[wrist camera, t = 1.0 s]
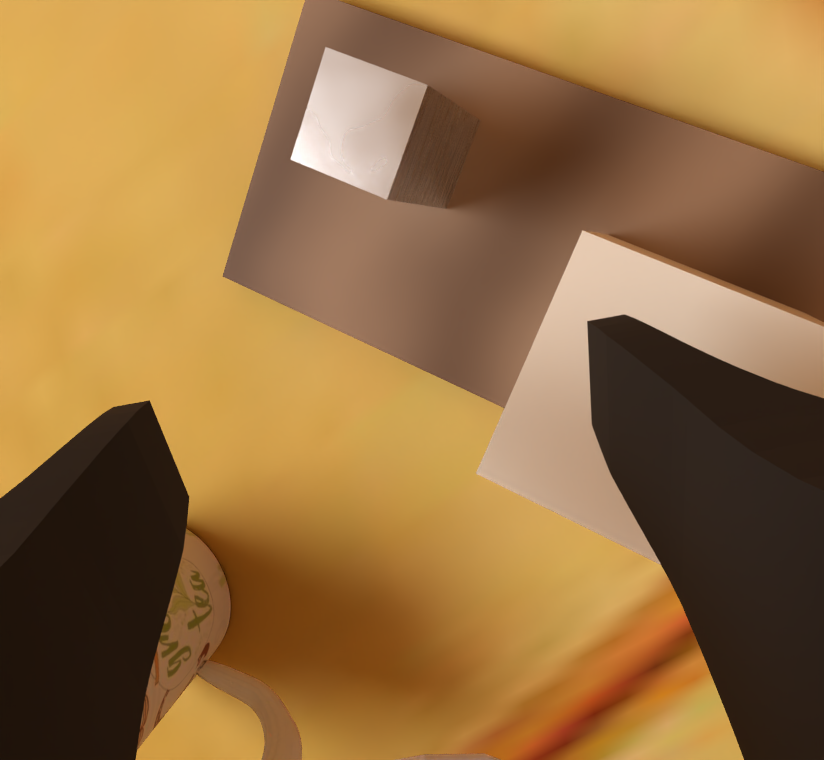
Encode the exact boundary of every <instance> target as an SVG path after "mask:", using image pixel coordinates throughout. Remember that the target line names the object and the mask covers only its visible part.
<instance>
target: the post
mask: <svg viewBox="0 0 824 760" xmlns="http://www.w3.org/2000/svg"><path fill="white" fill-rule="evenodd" d="M479 123H480V120H479V119H478V118H476V117H475V116H473V115H472V114H470V113H469V112H467V111H466V110H464V109H463V108H461V107H460V106H458V105H457V104H455V103H454V102H452V101H451V100H449V99H448V98H447V97H445V96H444V95H442V94H441V93H439V92H438V91H436V90H435V89H433V88H432V87H430V86H429V85H427V84H424V83H421V82H419V81H416V80H413V79H411V78H408V77H405V76H402V75H400V74H397V73H394V72H392V71H389V70H386V69H384V68H381V67H378V66H375V65H373V64H370V63H367V62H365V61H362V60H359V59H357V58H354V57H351V56H349V55H346V54H343V53H340V52H338V51H335V50H332V49H330V48H327V47H325V51H324V54H323V57H322V60H321V63H320V67H319V70H318V73H317V76H316V79H315V83H314V86H313V89H312V92H311V95H310V99H309V102H308V105H307V108H306V111H305V115H304V118H303V121H302V124H301V127H300V131H299V134H298V137H297V140H296V144H295V147H294V150H293V153H292V156H291V160H293V161H295V162H298V163H300V164H302V165H305V166H307V167H310V168H312V169H314V170H317V171H319V172H322V173H324V174H326V175H329V176H331V177H334V178H336V179H338V180H341V181H343V182H346V183H348V184H350V185H353V186H355V187H358V188H360V189H363V190H365V191H367V192H370V193H372V194H375V195H377V196H379V197H382V198H384V199H387V200H392V201H399V202H405V203H411V204H418V205H424V206H430V207H437V208H443V209H447V207H448V204H449V202H450V199H451V197H452V194H453V191H454V189H455V186H456V183H457V181H458V178H459V175H460V173H461V170H462V168H463V165H464V162H465V160H466V157H467V154H468V152H469V149H470V147H471V144H472V141H473V139H474V136H475V133H476V131H477V128H478V126H479Z"/></svg>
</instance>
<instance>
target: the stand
mask: <svg viewBox="0 0 824 760" xmlns="http://www.w3.org/2000/svg"><path fill="white" fill-rule="evenodd" d="M325 47H327V48H330V49H332V50H335V51H338V52H340V53H343V54H346V55H349V56H351V57H354V58H357V59H359V60H362V61H365V62H367V63H370V64H373V65H375V66H378V67H381V68H384V69H386V70H389V71H392V72H394V73H397V74H400V75H402V76H405V77H408V78H411V79H413V80H416V81H419V82H421V83H424V84H427V85H429V86H430V87H432V88H433V89H435V90H436V91H438V92H439V93H441V94H442V95H444V96H445V97H447V98H448V99H449V100H451V101H452V102H454V103H455V104H457V105H458V106H460V107H461V108H463V109H464V110H466V111H467V112H469V113H470V114H472V115H473V116H475V117H476V118H478V119H479V120H480V123H479V126H478V128H477V131H476V133H475V136H474V139H473V141H472V144H471V147H470V149H469V152H468V154H467V157H466V160H465V162H464V165H463V168H462V170H461V173H460V175H459V178H458V181H457V183H456V186H455V189H454V191H453V194H452V197H451V199H450V202H449V204H448V207H447V209H443V208H437V207H430V206H424V205H418V204H411V203H405V202H399V201H392V200H387V199H384V198H382V197H379V196H377V195H375V194H372V193H370V192H367V191H365V190H363V189H360V188H358V187H355V186H353V185H350V184H348V183H346V182H343V181H341V180H338V179H336V178H334V177H331V176H329V175H326V174H324V173H322V172H319V171H317V170H314V169H312V168H310V167H307V166H305V165H302V164H300V163H298V162H295V161H293V160H291V156H292V153H293V150H294V147H295V144H296V140H297V137H298V134H299V131H300V127H301V124H302V121H303V118H304V115H305V111H306V108H307V105H308V102H309V99H310V95H311V92H312V89H313V86H314V83H315V79H316V76H317V73H318V70H319V67H320V63H321V60H322V57H323V54H324V51H325ZM582 230H583V231H589V232H596V233H602V234H607V235H610V236H612V237H615V238H618V239H620V240H623V241H625V242H628V243H630V244H633V245H635V246H638V247H640V248H643V249H645V250H648V251H650V252H653V253H655V254H658V255H660V256H663V257H665V258H668V259H670V260H673V261H675V262H678V263H680V264H683V265H685V266H688V267H690V268H693V269H696V270H698V271H701V272H703V273H706V274H708V275H711V276H713V277H716V278H718V279H721V280H723V281H726V282H728V283H731V284H733V285H736V286H738V287H741V288H743V289H746V290H748V291H751V292H753V293H756V294H758V295H761V296H763V297H766V298H769V299H771V300H774V301H776V302H779V303H781V304H784V305H786V306H789V307H791V308H794V309H796V310H799V311H801V312H804V313H806V314H808V315H810V316H812V317H814V318H816V319H818V320H820V321H822V322H824V172H823V171H820V170H817V169H814V168H811V167H809V166H806V165H803V164H800V163H797V162H794V161H792V160H789V159H786V158H783V157H780V156H777V155H775V154H772V153H769V152H766V151H763V150H760V149H758V148H755V147H752V146H749V145H746V144H743V143H741V142H738V141H735V140H732V139H729V138H726V137H724V136H721V135H718V134H715V133H712V132H709V131H707V130H704V129H701V128H698V127H695V126H692V125H690V124H687V123H684V122H681V121H678V120H675V119H673V118H670V117H667V116H664V115H661V114H659V113H656V112H653V111H650V110H647V109H644V108H642V107H639V106H636V105H633V104H630V103H627V102H625V101H622V100H619V99H616V98H613V97H610V96H608V95H605V94H602V93H599V92H596V91H593V90H591V89H588V88H585V87H582V86H579V85H576V84H574V83H571V82H568V81H565V80H562V79H559V78H557V77H554V76H551V75H548V74H545V73H542V72H540V71H537V70H534V69H531V68H528V67H525V66H523V65H520V64H517V63H514V62H511V61H508V60H506V59H503V58H500V57H497V56H494V55H491V54H489V53H486V52H483V51H480V50H477V49H475V48H472V47H469V46H466V45H463V44H460V43H458V42H455V41H452V40H449V39H446V38H443V37H441V36H438V35H435V34H432V33H429V32H426V31H424V30H421V29H418V28H415V27H412V26H409V25H407V24H404V23H401V22H398V21H395V20H392V19H390V18H387V17H384V16H381V15H378V14H375V13H373V12H370V11H367V10H364V9H361V8H358V7H356V6H353V5H350V4H347V3H344V2H341V1H339V0H305V3H304V6H303V9H302V13H301V16H300V19H299V23H298V26H297V29H296V33H295V36H294V39H293V43H292V46H291V49H290V53H289V56H288V59H287V63H286V66H285V69H284V73H283V76H282V79H281V83H280V86H279V89H278V93H277V96H276V99H275V103H274V106H273V110H272V113H271V116H270V120H269V123H268V126H267V130H266V133H265V136H264V140H263V143H262V146H261V150H260V153H259V156H258V160H257V163H256V166H255V170H254V173H253V176H252V180H251V183H250V186H249V190H248V193H247V196H246V200H245V203H244V206H243V210H242V213H241V216H240V220H239V223H238V227H237V230H236V233H235V237H234V240H233V243H232V247H231V250H230V253H229V257H228V260H227V263H226V267H225V270H224V273H223V277H225V278H227V279H230V280H232V281H234V282H236V283H238V284H240V285H242V286H245V287H247V288H249V289H251V290H253V291H255V292H257V293H260V294H262V295H264V296H266V297H268V298H270V299H272V300H275V301H277V302H279V303H281V304H283V305H285V306H287V307H290V308H292V309H294V310H296V311H298V312H300V313H302V314H304V315H307V316H309V317H311V318H313V319H315V320H317V321H319V322H322V323H324V324H326V325H328V326H330V327H332V328H334V329H337V330H339V331H341V332H343V333H345V334H347V335H349V336H352V337H354V338H356V339H358V340H360V341H362V342H364V343H367V344H369V345H371V346H373V347H375V348H377V349H379V350H381V351H384V352H386V353H388V354H390V355H392V356H394V357H396V358H399V359H401V360H403V361H405V362H407V363H409V364H411V365H414V366H416V367H418V368H420V369H422V370H424V371H426V372H429V373H431V374H433V375H435V376H437V377H439V378H441V379H444V380H446V381H448V382H450V383H452V384H454V385H456V386H458V387H461V388H463V389H465V390H467V391H469V392H471V393H473V394H476V395H478V396H480V397H482V398H484V399H486V400H488V401H491V402H493V403H495V404H497V405H499V406H501V407H503V408H505V406H506V404H507V402H508V399H509V397H510V395H511V392H512V390H513V388H514V386H515V383H516V381H517V379H518V376H519V374H520V372H521V370H522V367H523V365H524V363H525V360H526V358H527V356H528V354H529V351H530V349H531V347H532V345H533V342H534V340H535V338H536V335H537V333H538V331H539V329H540V326H541V324H542V322H543V319H544V317H545V315H546V313H547V310H548V308H549V306H550V303H551V301H552V299H553V297H554V294H555V292H556V290H557V287H558V285H559V283H560V281H561V278H562V276H563V274H564V271H565V269H566V267H567V265H568V262H569V260H570V258H571V255H572V253H573V251H574V249H575V246H576V244H577V242H578V239H579V237H580V235H581V233H582Z"/></svg>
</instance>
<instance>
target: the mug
mask: <svg viewBox="0 0 824 760" xmlns="http://www.w3.org/2000/svg"><path fill="white" fill-rule="evenodd" d="M230 612H231V601H230V593H229V588H228V584H227V581H226V578H225V575H224V572H223V570H222V568H221V566H220V564H219V562H218V561H217V559H216V557H215V556H214V554H213V553H212V552H211V550H210V549H209V548H208V547H207V546H206V544H205V543H204V542H203V541H202V540H200V539H199V538H198V537H197V536H196V535H195V534H193V533H192V532H191V531H189V530H188V529H186V534H185V542H184V549H183V554H182V558H181V562H180V566H179V569H178V573H177V577H176V581H175V585H174V588H173V592H172V596H171V599H170V603H169V607H168V610H167V614H166V618H165V621H164V625H163V629H162V632H161V636H160V640H159V643H158V647H157V651H156V654H155V658H154V661H153V665H152V669H151V673H150V678H149V682H148V686H147V691H146V695H145V701H144V707H143V714H142V720H141V727H140V733H139V740H138V746H137V749H138V748H139V747H140V746H141V744H142V743H143V742H144V741H145V739H146V738H147V737H148V736H149V734H150V733H151V732H152V730H153V729H154V728H155V727H156V725H157V724H158V723H159V722H160V720H161V719H162V718H163V717H164V715H165V714H166V713H167V712H168V710H169V709H170V708H171V706H172V705H173V704H174V703H175V701H176V700H177V699H178V698H179V696H180V695H181V694H182V693H183V691H184V690H185V689H186V687H187V686H188V685H189V684H190V682H191V681H192V680H193V679H194V677H195V676H196V675H198V676H200V677H201V678H203V679H204V680H205V681H207V682H209V683H210V684H212V685H213V686H215V687H217V688H219V689H220V690H222V691H224V692H226V693H228V694H230V695H232V696H233V697H235V698H237V699H239V700H241V701H242V702H244V703H245V704H247V705H249V706H250V707H251V708H252V709H253V710H254V711H255V713H256V714H257V716H258V717H259V719H260V722H261V724H262V727H263V731H264V738H265V746H264V753H263V756H262V760H302V745H301V738H300V734H299V731H298V728H297V726H296V724H295V722H294V720H293V719H292V717H291V715H290V714H289V712H288V710H287V709H286V707H285V705H284V704H283V702H282V701H281V699H280V698H279V696H278V695H277V694H276V693H275V692H274V691H273V690H272V689H271V688H270V687H269V686H268V685H266V684H265V683H263V682H262V681H260V680H258V679H256V678H254V677H252V676H250V675H247V674H245V673H243V672H240V671H238V670H236V669H233V668H231V667H229V666H226V665H223V664H220V663H216V662H213V661H209V658H210V657H211V656H212V654H213V653H214V652H215V650H216V649H217V648H218V646H219V645H220V643H221V642H222V640H223V638H224V636H225V633H226V631H227V628H228V625H229V620H230Z"/></svg>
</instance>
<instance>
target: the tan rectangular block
mask: <svg viewBox="0 0 824 760" xmlns="http://www.w3.org/2000/svg"><path fill="white" fill-rule="evenodd" d="M624 314H625V315H628V316H630V317H633V318H635V319H637V320H640V321H642V322H644V323H646V324H648V325H650V326H652V327H654V328H656V329H658V330H660V331H662V332H664V333H666V334H668V335H670V336H672V337H674V338H676V339H678V340H680V341H682V342H684V343H686V344H688V345H690V346H693V347H695V348H697V349H699V350H701V351H703V352H705V353H707V354H709V355H712V356H714V357H716V358H718V359H720V360H723V361H725V362H727V363H729V364H732V365H734V366H736V367H738V368H741V369H743V370H746V371H748V372H751V373H753V374H756V375H758V376H761V377H763V378H766V379H768V380H771V381H773V382H776V383H779V384H782V385H784V386H787V387H790V388H793V389H796V390H799V391H802V392H805V393H809V394H812V395H815V396H818V397H821V398H824V322H822V321H820V320H818V319H816V318H814V317H812V316H810V315H808V314H806V313H804V312H801V311H799V310H796V309H794V308H791V307H789V306H786V305H784V304H781V303H779V302H776V301H774V300H771V299H769V298H766V297H763V296H761V295H758V294H756V293H753V292H751V291H748V290H746V289H743V288H741V287H738V286H736V285H733V284H731V283H728V282H726V281H723V280H721V279H718V278H716V277H713V276H711V275H708V274H706V273H703V272H701V271H698V270H696V269H693V268H690V267H688V266H685V265H683V264H680V263H678V262H675V261H673V260H670V259H668V258H665V257H663V256H660V255H658V254H655V253H653V252H650V251H648V250H645V249H643V248H640V247H638V246H635V245H633V244H630V243H628V242H625V241H623V240H620V239H618V238H615V237H612V236H610V235H607V234H602V233H596V232H589V231H583V230H582V233H581V235H580V237H579V239H578V242H577V244H576V246H575V249H574V251H573V253H572V255H571V258H570V260H569V262H568V265H567V267H566V269H565V271H564V274H563V276H562V278H561V281H560V283H559V285H558V287H557V290H556V292H555V294H554V297H553V299H552V301H551V303H550V306H549V308H548V310H547V313H546V315H545V317H544V319H543V322H542V324H541V326H540V329H539V331H538V333H537V335H536V338H535V340H534V342H533V345H532V347H531V349H530V351H529V354H528V356H527V358H526V360H525V363H524V365H523V367H522V370H521V372H520V374H519V376H518V379H517V381H516V383H515V386H514V388H513V390H512V392H511V395H510V397H509V399H508V402H507V404H506V406H505V408H504V411H503V413H502V415H501V418H500V420H499V422H498V424H497V427H496V429H495V431H494V434H493V436H492V438H491V440H490V443H489V445H488V447H487V450H486V452H485V454H484V456H483V459H482V461H481V463H480V466H479V468H478V470H477V472H476V474H478V475H480V476H482V477H484V478H486V479H488V480H490V481H492V482H494V483H496V484H498V485H500V486H502V487H504V488H506V489H508V490H510V491H512V492H515V493H517V494H519V495H521V496H523V497H525V498H527V499H529V500H531V501H533V502H535V503H537V504H539V505H541V506H543V507H545V508H547V509H549V510H551V511H553V512H555V513H557V514H559V515H561V516H563V517H565V518H567V519H569V520H571V521H573V522H575V523H577V524H579V525H581V526H583V527H585V528H587V529H589V530H592V531H594V532H596V533H598V534H600V535H602V536H604V537H606V538H608V539H610V540H612V541H614V542H616V543H618V544H620V545H622V546H624V547H626V548H628V549H630V550H632V551H634V552H636V553H638V554H640V555H642V556H644V557H646V558H648V559H650V560H652V561H654V562H656V563H658V564H660V562H659V560H658V558H657V557H656V555H655V553H654V551H653V549H652V548H651V546H650V544H649V542H648V541H647V539H646V537H645V535H644V533H643V532H642V530H641V528H640V526H639V525H638V523H637V521H636V519H635V517H634V516H633V514H632V512H631V510H630V509H629V507H628V505H627V503H626V501H625V500H624V498H623V496H622V494H621V492H620V490H619V489H618V487H617V485H616V483H615V481H614V479H613V478H612V476H611V474H610V472H609V469H608V466H607V464H606V461H605V459H604V456H603V454H602V451H601V449H600V446H599V443H598V441H597V438H596V435H595V432H594V430H593V427H592V420H591V397H590V374H589V352H588V329H587V321H591V320H596V319H602V318H607V317H613V316H618V315H624ZM660 565H661V564H660Z"/></svg>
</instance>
